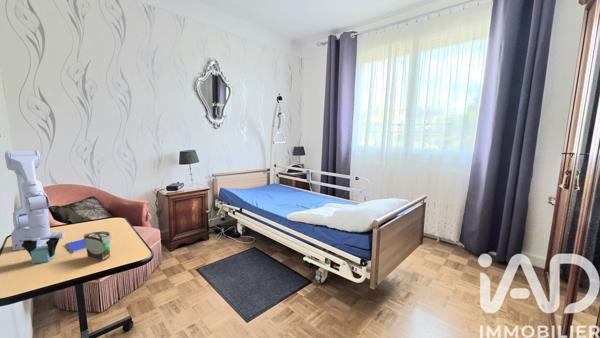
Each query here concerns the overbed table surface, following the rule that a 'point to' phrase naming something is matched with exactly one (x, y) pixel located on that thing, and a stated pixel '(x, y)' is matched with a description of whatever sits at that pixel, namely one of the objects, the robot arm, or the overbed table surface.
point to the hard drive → (76, 246)
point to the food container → (98, 245)
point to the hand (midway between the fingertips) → (43, 256)
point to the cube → (41, 255)
